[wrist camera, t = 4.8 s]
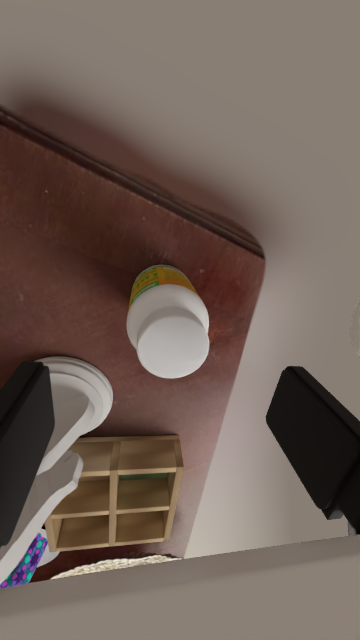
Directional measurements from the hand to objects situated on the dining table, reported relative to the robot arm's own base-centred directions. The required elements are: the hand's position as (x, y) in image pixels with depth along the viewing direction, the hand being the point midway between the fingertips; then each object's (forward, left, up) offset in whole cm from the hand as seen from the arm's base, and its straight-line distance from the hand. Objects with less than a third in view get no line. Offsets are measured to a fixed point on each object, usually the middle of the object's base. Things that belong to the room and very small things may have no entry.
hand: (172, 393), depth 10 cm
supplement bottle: (0, 0, -13) cm, 13 cm away
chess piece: (+9, +12, -13) cm, 20 cm away
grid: (+3, +26, -13) cm, 29 cm away
